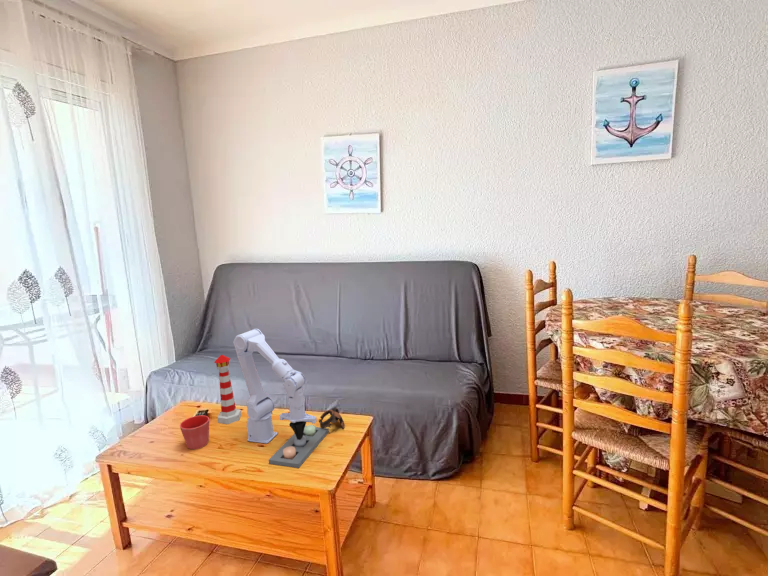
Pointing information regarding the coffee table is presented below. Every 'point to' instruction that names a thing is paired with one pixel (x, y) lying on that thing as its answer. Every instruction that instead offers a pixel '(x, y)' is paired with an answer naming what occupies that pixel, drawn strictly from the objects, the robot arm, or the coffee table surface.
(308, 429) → the sage button
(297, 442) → the slate button
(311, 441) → the grey slotted board
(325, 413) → the brown curved piece
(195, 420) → the flower pot
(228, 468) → the coffee table surface
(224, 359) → the decorative lighthouse
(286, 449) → the terracotta button
